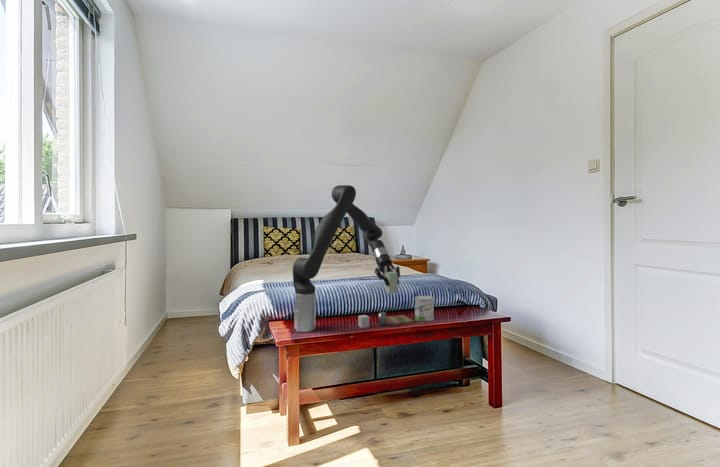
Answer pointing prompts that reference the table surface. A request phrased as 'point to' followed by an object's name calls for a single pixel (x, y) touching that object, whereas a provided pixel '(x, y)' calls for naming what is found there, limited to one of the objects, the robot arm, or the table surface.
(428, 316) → the ink box
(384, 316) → the metal cylinder
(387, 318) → the walnut board
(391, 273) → the sage block
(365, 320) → the grey block
